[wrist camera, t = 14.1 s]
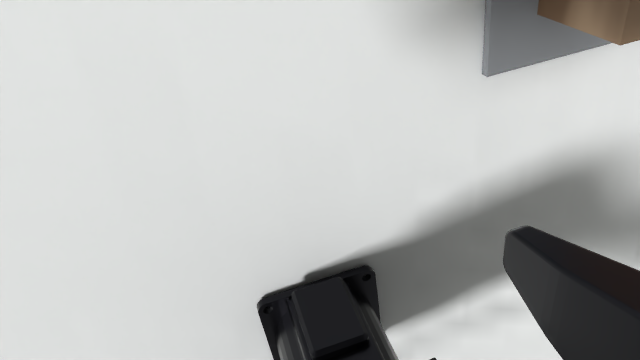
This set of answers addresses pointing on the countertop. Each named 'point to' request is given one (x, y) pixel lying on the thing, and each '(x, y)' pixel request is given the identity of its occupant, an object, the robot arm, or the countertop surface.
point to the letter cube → (597, 17)
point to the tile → (527, 37)
